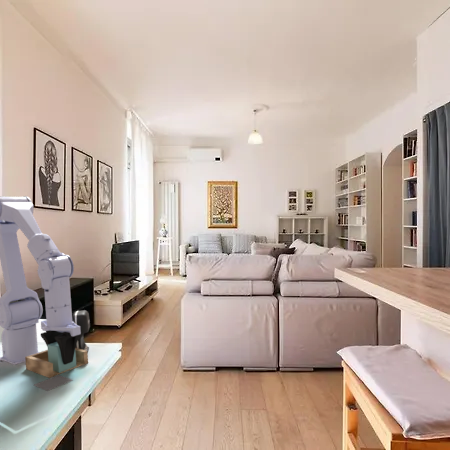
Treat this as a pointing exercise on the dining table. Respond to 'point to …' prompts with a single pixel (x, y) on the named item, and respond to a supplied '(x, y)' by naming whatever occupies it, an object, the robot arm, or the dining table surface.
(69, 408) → the dining table surface
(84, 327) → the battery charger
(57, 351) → the block
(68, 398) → the dining table surface
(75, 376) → the dining table surface
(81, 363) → the crate
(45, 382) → the coaster
